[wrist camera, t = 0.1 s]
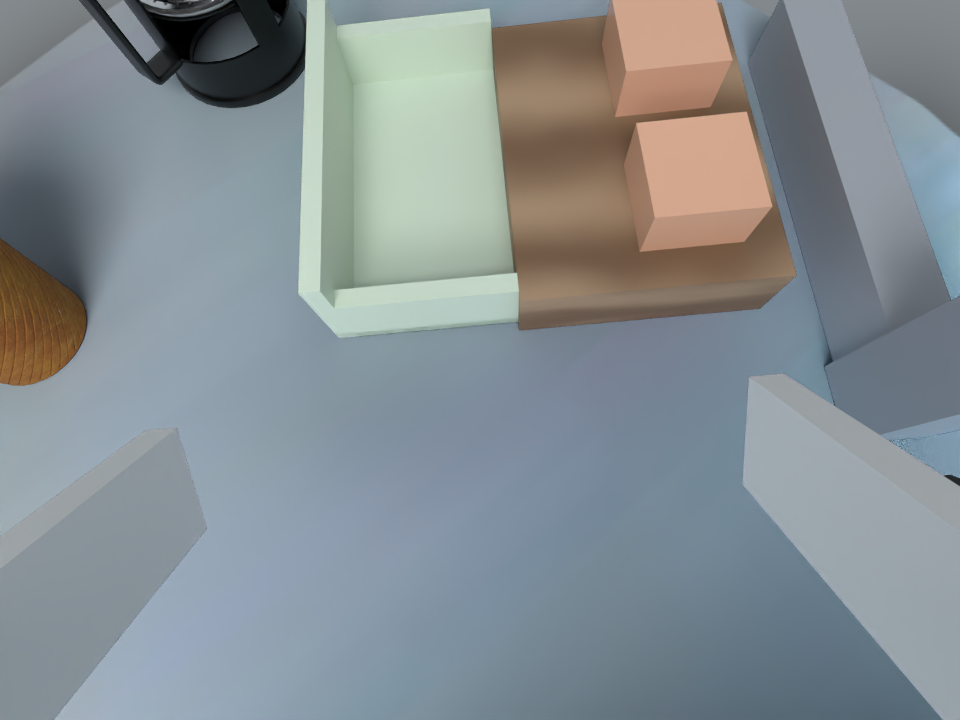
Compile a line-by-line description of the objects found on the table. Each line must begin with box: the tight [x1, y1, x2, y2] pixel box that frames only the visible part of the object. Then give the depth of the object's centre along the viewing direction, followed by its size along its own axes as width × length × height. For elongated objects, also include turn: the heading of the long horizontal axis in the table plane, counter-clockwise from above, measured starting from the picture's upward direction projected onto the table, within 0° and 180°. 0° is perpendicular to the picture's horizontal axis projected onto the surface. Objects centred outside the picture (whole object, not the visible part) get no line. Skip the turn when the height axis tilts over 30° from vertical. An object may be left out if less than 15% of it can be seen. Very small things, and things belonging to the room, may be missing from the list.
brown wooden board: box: [492, 3, 797, 330], centre depth 30 cm, size 17×13×4 cm
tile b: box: [602, 0, 732, 117], centre depth 28 cm, size 5×5×3 cm
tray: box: [298, 0, 519, 338], centre depth 30 cm, size 18×10×6 cm, turn 4°
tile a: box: [624, 112, 772, 252], centre depth 25 cm, size 5×5×3 cm
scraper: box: [748, 0, 960, 440], centre depth 25 cm, size 24×4×12 cm, turn 4°
